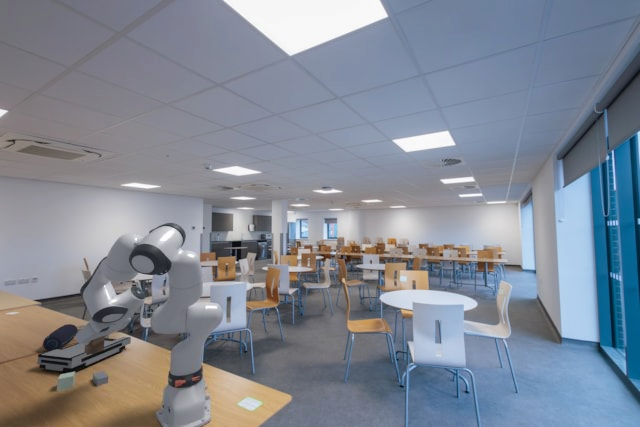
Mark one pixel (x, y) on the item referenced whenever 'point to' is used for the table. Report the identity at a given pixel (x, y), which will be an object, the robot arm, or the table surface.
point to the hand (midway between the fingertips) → (93, 340)
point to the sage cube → (66, 381)
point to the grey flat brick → (100, 378)
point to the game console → (80, 355)
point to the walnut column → (95, 346)
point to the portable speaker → (60, 337)
